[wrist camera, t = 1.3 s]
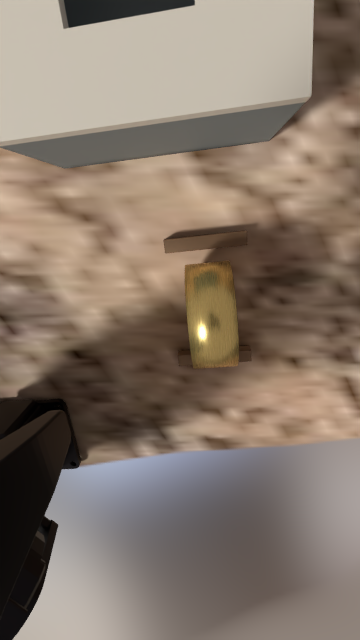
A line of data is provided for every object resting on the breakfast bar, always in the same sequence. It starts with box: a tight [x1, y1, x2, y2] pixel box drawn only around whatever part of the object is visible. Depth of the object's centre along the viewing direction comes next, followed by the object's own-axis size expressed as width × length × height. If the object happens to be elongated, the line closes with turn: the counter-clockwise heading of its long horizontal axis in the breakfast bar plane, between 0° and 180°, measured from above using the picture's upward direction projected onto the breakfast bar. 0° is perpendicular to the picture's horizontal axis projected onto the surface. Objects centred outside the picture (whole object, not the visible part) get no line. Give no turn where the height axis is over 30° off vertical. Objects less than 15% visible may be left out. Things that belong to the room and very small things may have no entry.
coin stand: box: [164, 230, 251, 366], centre depth 20 cm, size 9×5×1 cm, turn 6°
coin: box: [185, 261, 239, 369], centre depth 18 cm, size 6×2×6 cm, turn 6°
